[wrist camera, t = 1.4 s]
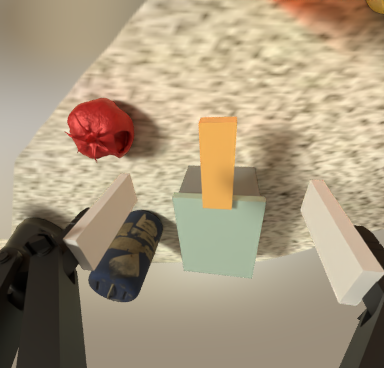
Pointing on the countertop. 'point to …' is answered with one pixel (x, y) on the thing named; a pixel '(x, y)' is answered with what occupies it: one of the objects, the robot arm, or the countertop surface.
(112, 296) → the canister
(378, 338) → the robot arm
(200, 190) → the tub
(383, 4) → the plant pot
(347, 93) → the countertop surface
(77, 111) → the pomegranate
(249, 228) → the lid
